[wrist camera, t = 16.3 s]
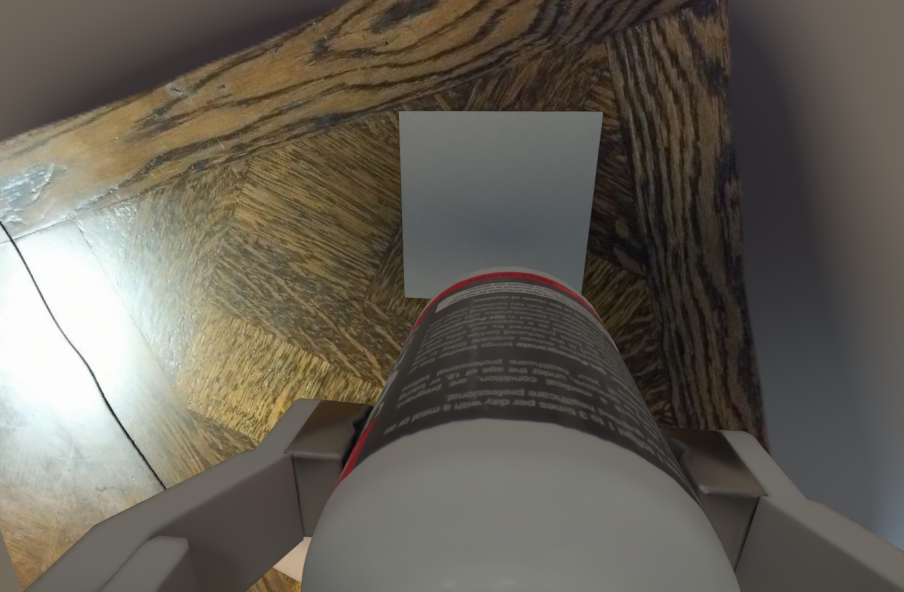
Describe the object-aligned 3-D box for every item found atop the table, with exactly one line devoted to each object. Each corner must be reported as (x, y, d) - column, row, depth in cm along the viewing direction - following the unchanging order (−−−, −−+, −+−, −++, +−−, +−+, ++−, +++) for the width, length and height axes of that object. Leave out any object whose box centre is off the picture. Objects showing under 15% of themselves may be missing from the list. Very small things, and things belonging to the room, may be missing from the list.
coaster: (601, 112, 23) (603, 111, 22) (578, 302, 27) (580, 306, 26) (401, 111, 24) (398, 111, 24) (406, 294, 28) (404, 297, 27)
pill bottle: (385, 287, 11) (-82, 866, 2) (589, 238, 10) (1205, 954, 1) (441, 449, 13) (295, 1164, 4) (622, 421, 12) (995, 1309, 3)
